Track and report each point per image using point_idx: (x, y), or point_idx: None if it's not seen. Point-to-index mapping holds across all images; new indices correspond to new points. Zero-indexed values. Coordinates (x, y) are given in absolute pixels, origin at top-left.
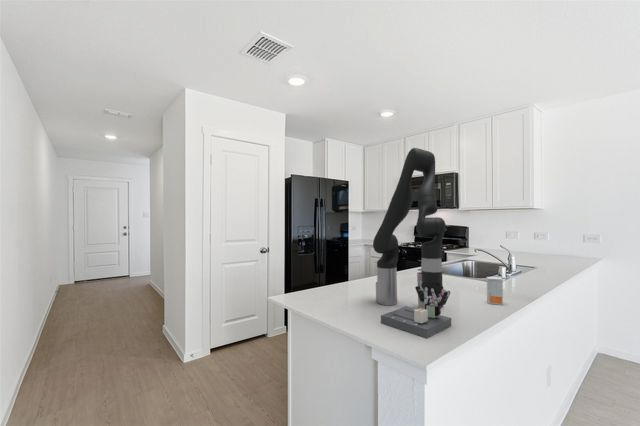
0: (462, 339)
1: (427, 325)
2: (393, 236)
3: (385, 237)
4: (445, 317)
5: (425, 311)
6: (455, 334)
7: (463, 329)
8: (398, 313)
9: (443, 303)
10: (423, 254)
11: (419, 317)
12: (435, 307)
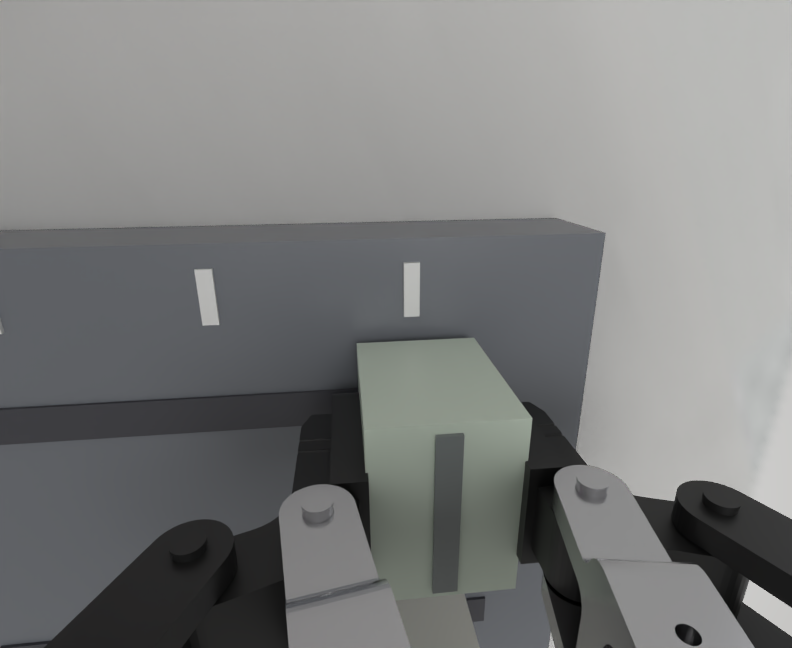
0: (736, 447)
1: (499, 626)
2: None
3: None
4: (537, 278)
5: None
6: (662, 399)
7: (691, 221)
8: (18, 597)
9: (760, 620)
10: None
11: None
12: (532, 550)
